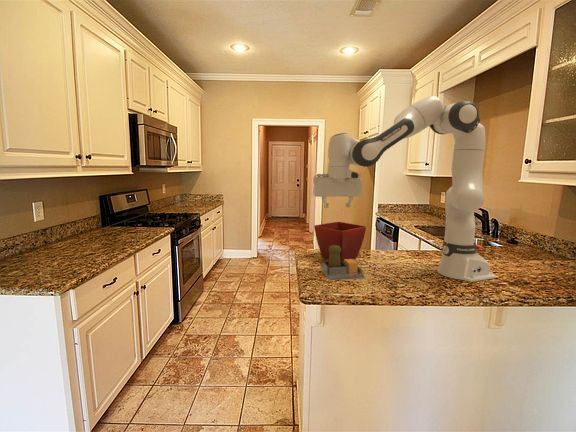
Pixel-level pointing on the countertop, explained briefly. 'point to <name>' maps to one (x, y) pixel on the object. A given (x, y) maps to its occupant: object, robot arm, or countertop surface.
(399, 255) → the countertop surface
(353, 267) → the bracket block
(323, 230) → the plant pot
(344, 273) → the grey tray with frame
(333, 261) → the cork
